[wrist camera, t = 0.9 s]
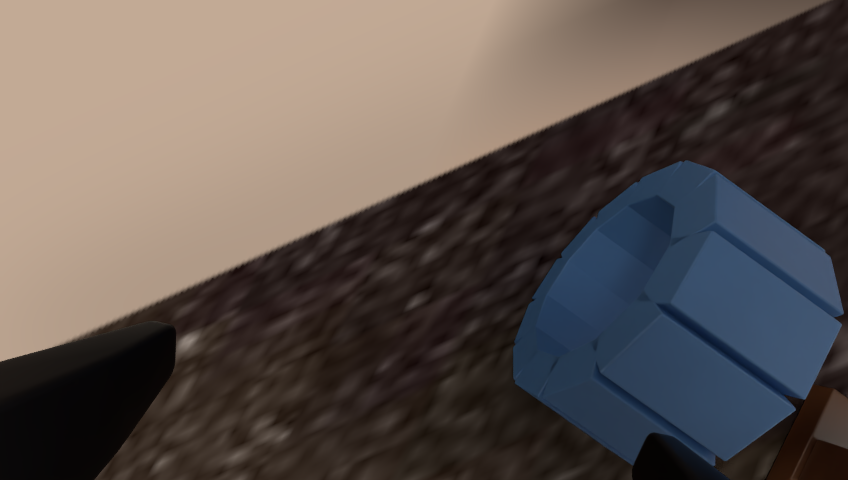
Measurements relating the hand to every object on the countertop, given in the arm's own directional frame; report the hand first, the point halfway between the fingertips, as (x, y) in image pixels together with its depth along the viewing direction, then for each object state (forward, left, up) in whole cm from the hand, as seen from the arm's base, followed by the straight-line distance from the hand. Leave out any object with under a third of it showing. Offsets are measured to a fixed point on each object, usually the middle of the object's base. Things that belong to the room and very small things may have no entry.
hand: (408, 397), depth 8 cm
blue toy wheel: (+7, -8, -14) cm, 18 cm away
